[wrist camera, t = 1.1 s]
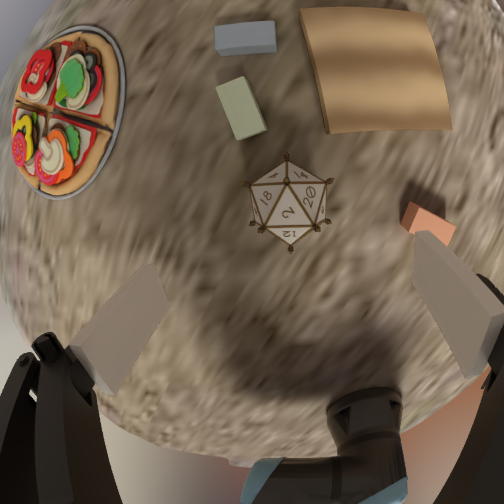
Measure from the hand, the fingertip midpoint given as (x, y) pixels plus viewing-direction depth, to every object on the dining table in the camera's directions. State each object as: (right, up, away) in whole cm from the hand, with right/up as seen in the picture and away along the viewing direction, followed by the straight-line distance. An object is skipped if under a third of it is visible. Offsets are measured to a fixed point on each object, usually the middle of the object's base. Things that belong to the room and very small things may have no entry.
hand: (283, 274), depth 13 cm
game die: (+3, +7, +17) cm, 18 cm away
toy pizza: (-30, +22, +16) cm, 41 cm away
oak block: (+12, +20, +9) cm, 25 cm away
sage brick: (-2, +16, +13) cm, 21 cm away
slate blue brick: (-2, +24, +10) cm, 26 cm away
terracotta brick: (+19, +5, +15) cm, 25 cm away
